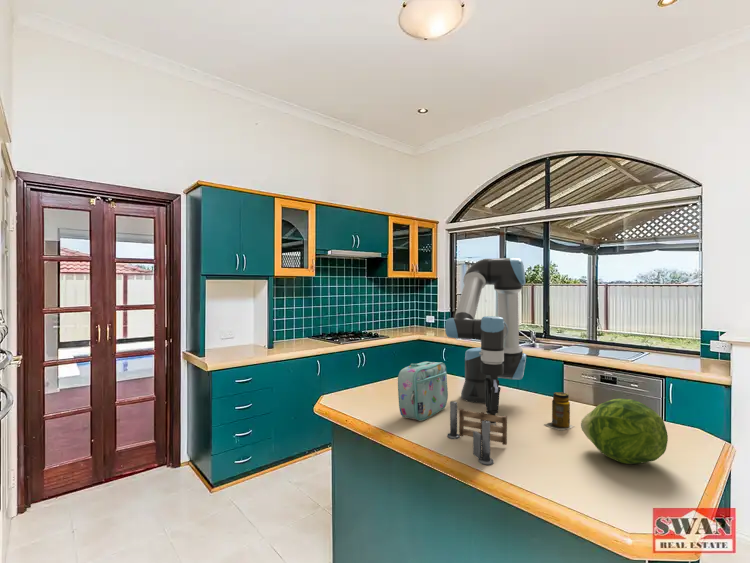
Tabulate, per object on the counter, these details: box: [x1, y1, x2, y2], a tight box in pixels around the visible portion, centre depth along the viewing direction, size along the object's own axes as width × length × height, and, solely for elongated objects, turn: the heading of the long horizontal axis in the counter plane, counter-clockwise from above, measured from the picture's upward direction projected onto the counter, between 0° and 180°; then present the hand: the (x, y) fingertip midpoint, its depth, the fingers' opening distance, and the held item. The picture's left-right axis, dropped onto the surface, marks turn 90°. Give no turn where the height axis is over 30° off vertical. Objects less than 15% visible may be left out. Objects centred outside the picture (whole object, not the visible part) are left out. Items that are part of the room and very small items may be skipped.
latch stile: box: [472, 420, 495, 466], centre depth 119 cm, size 4×6×12 cm
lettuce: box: [580, 398, 669, 465], centre depth 120 cm, size 19×23×18 cm
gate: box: [458, 408, 508, 446], centre depth 132 cm, size 16×1×9 cm, turn 60°
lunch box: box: [397, 361, 449, 422], centre depth 161 cm, size 27×10×21 cm, turn 143°
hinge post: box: [446, 400, 461, 440], centre depth 137 cm, size 4×4×12 cm
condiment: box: [543, 391, 575, 432], centre depth 148 cm, size 7×8×12 cm
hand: (491, 431), depth 135 cm, fingers closed
